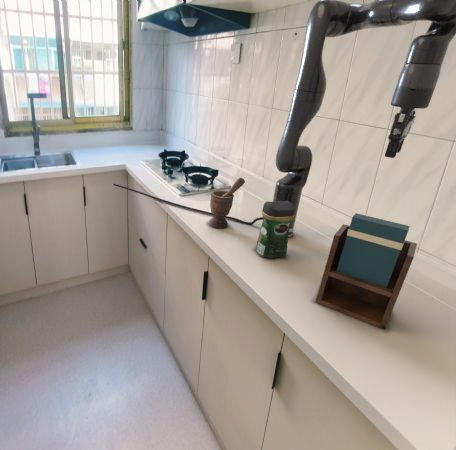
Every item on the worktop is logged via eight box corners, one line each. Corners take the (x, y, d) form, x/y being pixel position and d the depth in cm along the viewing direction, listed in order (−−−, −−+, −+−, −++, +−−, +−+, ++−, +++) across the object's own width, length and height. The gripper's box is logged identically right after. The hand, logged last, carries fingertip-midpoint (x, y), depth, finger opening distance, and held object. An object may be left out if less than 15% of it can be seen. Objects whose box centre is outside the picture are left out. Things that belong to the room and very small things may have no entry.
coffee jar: (277, 247, 119) (287, 197, 111) (289, 258, 112) (301, 205, 104) (251, 248, 117) (260, 198, 109) (262, 260, 110) (272, 206, 102)
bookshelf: (315, 302, 90) (334, 234, 82) (324, 287, 96) (343, 224, 88) (384, 329, 81) (413, 257, 73) (389, 312, 87) (417, 243, 79)
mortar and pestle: (231, 219, 140) (237, 172, 132) (240, 228, 132) (247, 179, 124) (204, 221, 138) (210, 173, 130) (212, 229, 130) (218, 179, 122)
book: (335, 271, 86) (352, 216, 79) (339, 266, 88) (355, 212, 82) (386, 288, 79) (408, 230, 73) (388, 282, 82) (410, 226, 76)
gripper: (400, 84, 86) (380, 148, 93) (392, 84, 76) (370, 156, 83) (437, 86, 82) (412, 153, 89) (433, 87, 72) (406, 162, 79)
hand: (392, 154), depth 86 cm, fingers open, 8 cm apart
